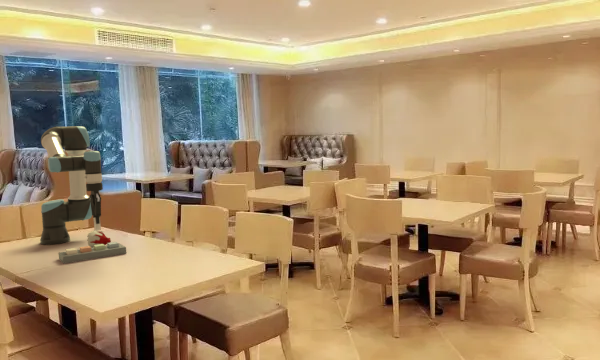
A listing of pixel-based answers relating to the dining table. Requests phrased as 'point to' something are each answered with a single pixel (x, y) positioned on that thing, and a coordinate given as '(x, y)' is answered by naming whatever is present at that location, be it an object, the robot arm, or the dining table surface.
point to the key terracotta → (85, 249)
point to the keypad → (91, 254)
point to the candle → (97, 238)
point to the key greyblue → (112, 245)
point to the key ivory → (71, 251)
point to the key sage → (99, 247)
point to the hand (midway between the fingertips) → (97, 230)
